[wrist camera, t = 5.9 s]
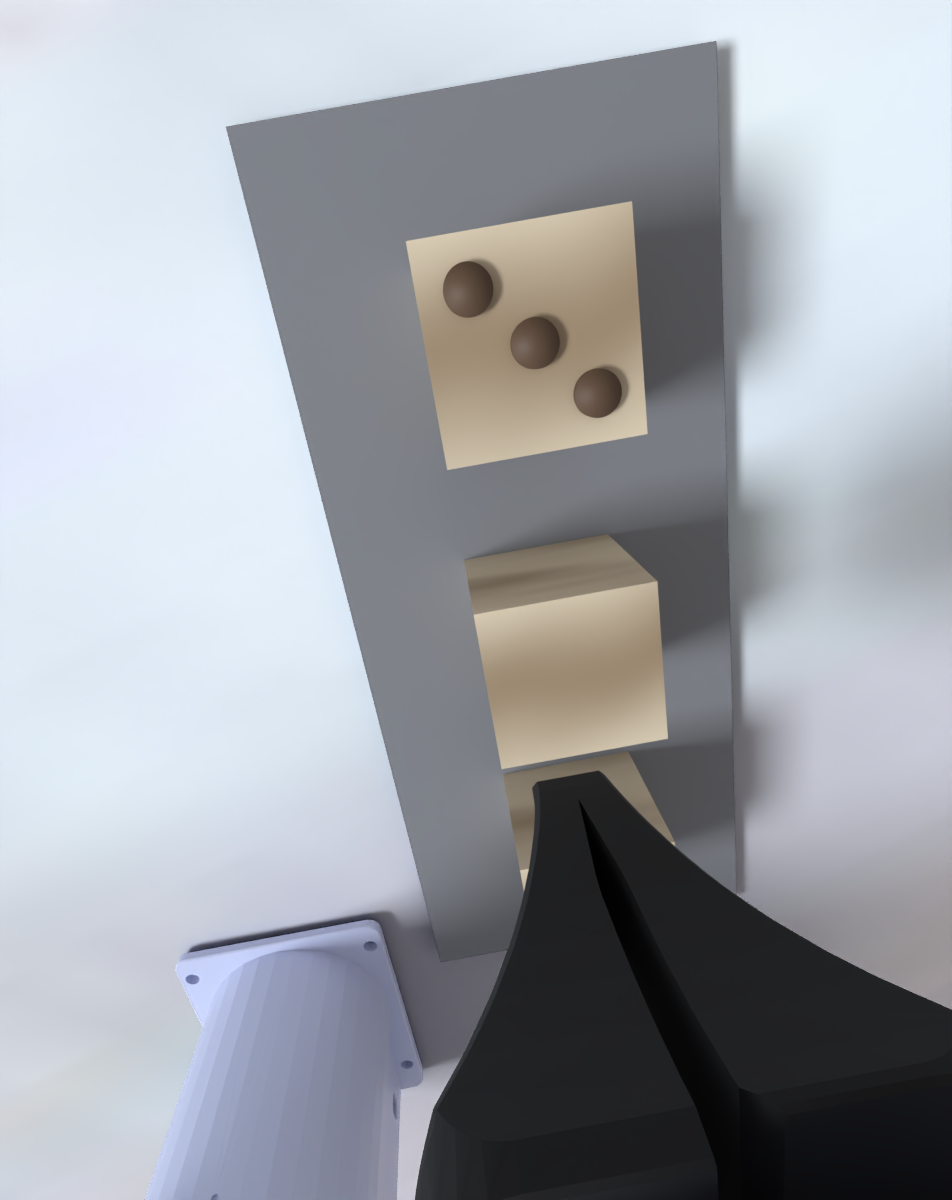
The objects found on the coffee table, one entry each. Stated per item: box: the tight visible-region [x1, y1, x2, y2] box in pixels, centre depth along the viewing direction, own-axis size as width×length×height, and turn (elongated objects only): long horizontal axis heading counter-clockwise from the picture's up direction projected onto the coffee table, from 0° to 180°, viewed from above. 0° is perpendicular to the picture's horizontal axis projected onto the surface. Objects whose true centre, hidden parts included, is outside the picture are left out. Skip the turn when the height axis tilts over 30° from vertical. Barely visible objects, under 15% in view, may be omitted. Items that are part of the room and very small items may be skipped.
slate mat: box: [226, 41, 736, 962], centre depth 21 cm, size 28×12×1 cm, turn 9°
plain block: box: [464, 534, 668, 769], centre depth 18 cm, size 4×4×4 cm
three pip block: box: [406, 201, 648, 470], centre depth 15 cm, size 4×4×5 cm
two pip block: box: [503, 752, 675, 890], centre depth 21 cm, size 4×4×5 cm
